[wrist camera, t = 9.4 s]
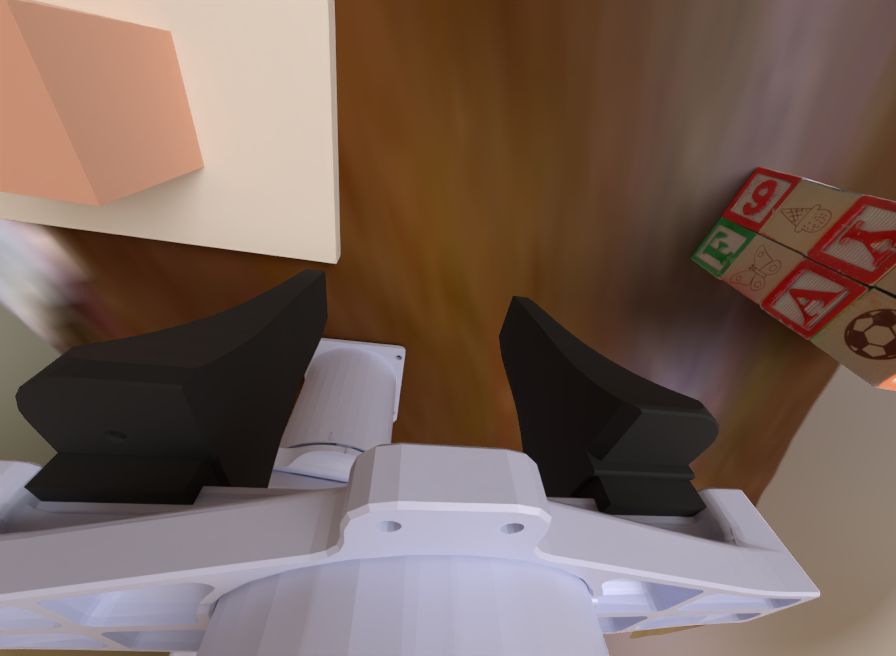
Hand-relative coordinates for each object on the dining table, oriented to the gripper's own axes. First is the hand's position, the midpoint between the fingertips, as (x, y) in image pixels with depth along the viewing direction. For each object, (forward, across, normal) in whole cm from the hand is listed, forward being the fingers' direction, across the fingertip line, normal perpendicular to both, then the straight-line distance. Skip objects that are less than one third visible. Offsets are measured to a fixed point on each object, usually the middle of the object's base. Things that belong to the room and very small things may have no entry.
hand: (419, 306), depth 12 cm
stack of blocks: (+10, -30, -3) cm, 31 cm away
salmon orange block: (+8, +14, -4) cm, 17 cm away
